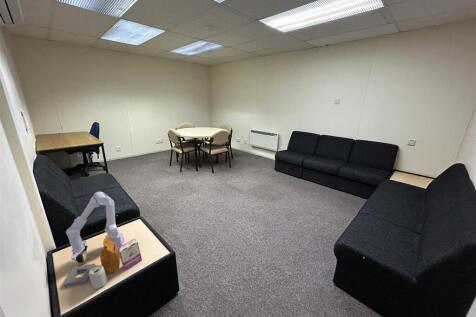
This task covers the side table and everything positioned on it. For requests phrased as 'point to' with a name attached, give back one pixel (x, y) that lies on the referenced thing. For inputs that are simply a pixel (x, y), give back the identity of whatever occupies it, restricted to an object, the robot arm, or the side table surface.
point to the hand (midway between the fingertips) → (82, 259)
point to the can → (98, 276)
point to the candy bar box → (129, 254)
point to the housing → (80, 280)
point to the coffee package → (110, 256)
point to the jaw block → (84, 257)
